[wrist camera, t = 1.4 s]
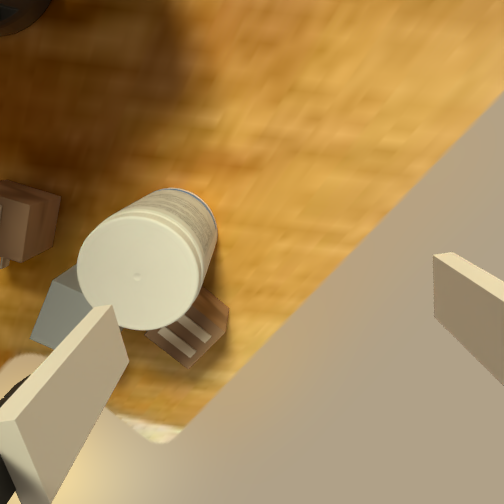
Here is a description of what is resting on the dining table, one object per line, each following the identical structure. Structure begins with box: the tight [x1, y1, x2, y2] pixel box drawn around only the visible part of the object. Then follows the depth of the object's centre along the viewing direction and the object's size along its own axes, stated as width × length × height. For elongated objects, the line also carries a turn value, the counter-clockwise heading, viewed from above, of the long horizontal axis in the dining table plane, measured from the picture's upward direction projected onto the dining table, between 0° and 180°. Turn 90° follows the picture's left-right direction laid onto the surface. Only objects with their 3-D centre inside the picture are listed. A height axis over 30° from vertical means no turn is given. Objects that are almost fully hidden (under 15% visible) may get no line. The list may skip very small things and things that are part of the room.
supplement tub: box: [77, 188, 217, 330], centre depth 35 cm, size 10×10×15 cm
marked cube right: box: [145, 286, 229, 369], centre depth 42 cm, size 6×6×6 cm
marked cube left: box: [0, 180, 61, 269], centre depth 39 cm, size 6×8×6 cm
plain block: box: [30, 264, 124, 350], centre depth 41 cm, size 7×7×8 cm
